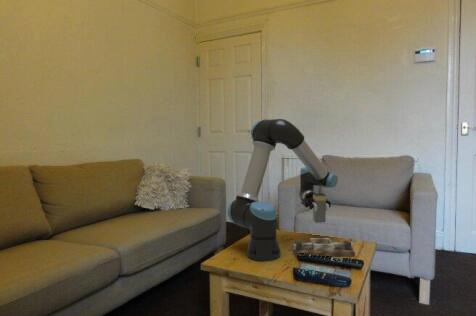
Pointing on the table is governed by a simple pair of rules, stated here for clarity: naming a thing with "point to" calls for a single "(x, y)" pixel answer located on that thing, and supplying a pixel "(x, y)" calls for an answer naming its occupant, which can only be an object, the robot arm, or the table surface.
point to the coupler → (319, 207)
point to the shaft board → (324, 248)
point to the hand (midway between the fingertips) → (322, 208)
